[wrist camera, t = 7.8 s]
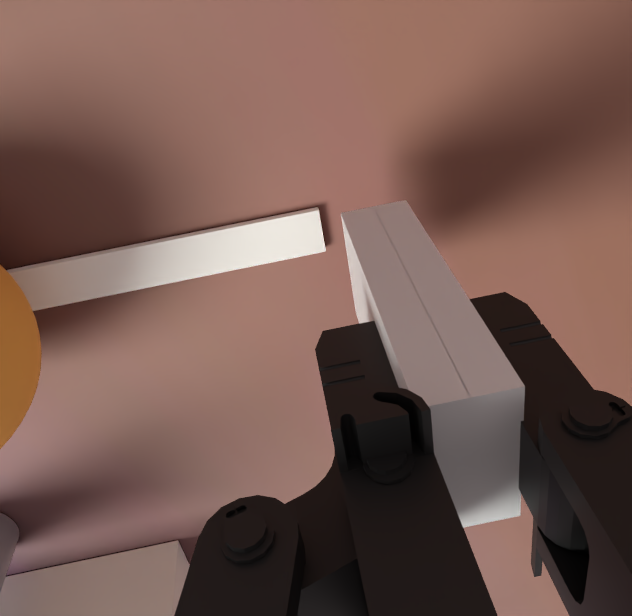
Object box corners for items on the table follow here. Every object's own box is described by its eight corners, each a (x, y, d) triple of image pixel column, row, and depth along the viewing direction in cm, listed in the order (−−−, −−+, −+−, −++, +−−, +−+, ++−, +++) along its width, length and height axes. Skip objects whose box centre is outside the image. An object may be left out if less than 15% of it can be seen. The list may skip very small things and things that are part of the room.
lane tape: (317, 206, 16) (318, 209, 15) (324, 248, 16) (325, 251, 16) (-69, 285, 15) (-72, 288, 15) (-45, 323, 16) (-48, 327, 16)
